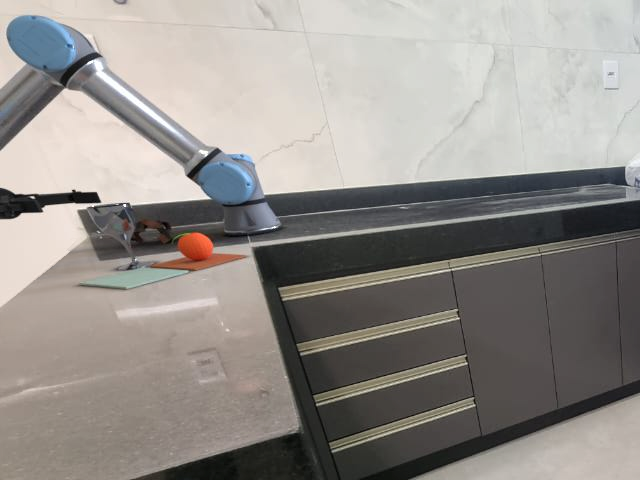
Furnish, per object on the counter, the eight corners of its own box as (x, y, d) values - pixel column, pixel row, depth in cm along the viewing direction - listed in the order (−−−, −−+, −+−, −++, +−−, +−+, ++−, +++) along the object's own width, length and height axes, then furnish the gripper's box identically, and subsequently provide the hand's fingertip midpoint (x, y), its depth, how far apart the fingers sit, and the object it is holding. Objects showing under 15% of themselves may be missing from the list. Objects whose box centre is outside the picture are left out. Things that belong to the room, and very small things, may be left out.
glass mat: (143, 269, 130) (142, 267, 130) (188, 272, 126) (187, 270, 126) (80, 285, 119) (79, 282, 119) (126, 289, 115) (125, 287, 114)
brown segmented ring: (159, 247, 156) (130, 225, 152) (143, 261, 160) (114, 239, 155) (188, 228, 165) (161, 207, 161) (172, 241, 169) (146, 220, 164)
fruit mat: (203, 254, 143) (202, 252, 143) (246, 256, 138) (245, 255, 138) (150, 267, 132) (149, 265, 132) (195, 270, 127) (194, 268, 127)
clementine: (179, 265, 130) (167, 237, 127) (178, 261, 135) (166, 233, 132) (219, 259, 135) (208, 231, 132) (216, 254, 139) (205, 227, 136)
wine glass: (151, 260, 139) (125, 201, 133) (161, 264, 135) (134, 203, 128) (112, 267, 133) (82, 207, 127) (120, 271, 129) (90, 209, 122)
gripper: (53, 210, 142) (125, 208, 141) (-65, 229, 120) (19, 227, 118) (38, 181, 139) (112, 179, 137) (-85, 195, 117) (1, 193, 115)
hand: (69, 201), depth 128 cm, fingers open, 13 cm apart
